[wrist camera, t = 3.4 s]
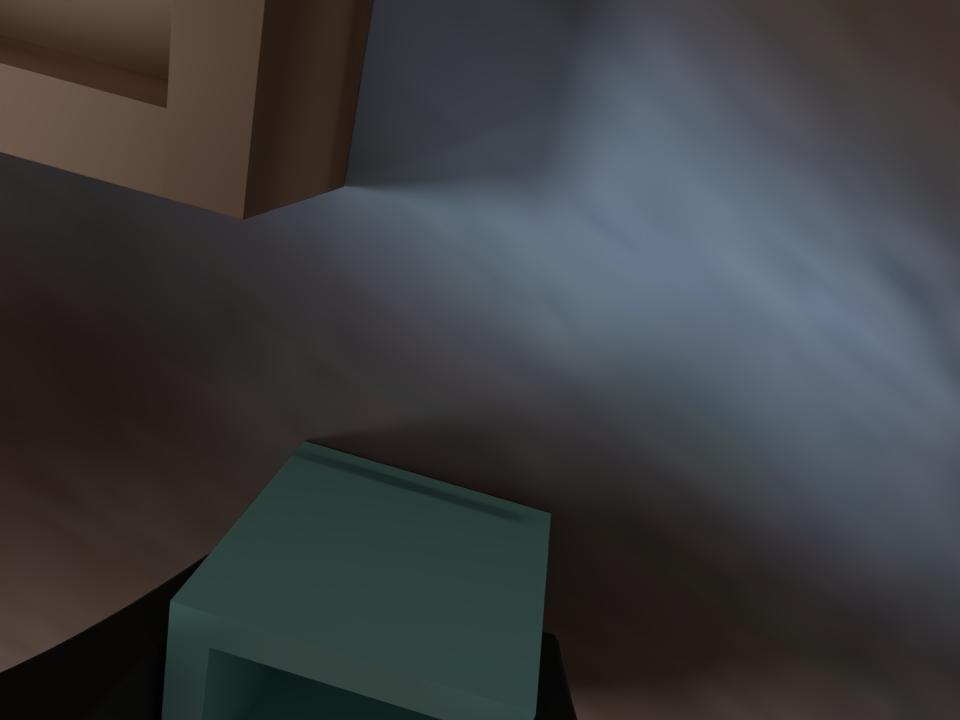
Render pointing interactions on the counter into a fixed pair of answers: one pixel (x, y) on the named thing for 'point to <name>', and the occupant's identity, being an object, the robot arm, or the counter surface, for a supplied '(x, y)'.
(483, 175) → the counter surface
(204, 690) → the small crate
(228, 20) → the big crate
